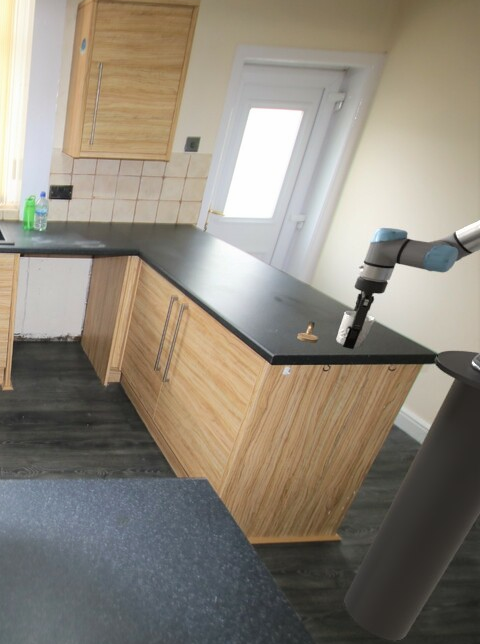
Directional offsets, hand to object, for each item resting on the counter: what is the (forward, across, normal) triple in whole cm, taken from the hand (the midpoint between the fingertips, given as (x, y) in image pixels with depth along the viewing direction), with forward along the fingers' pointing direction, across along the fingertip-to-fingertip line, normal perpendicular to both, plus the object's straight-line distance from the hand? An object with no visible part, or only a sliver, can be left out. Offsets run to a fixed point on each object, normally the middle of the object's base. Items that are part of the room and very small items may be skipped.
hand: (348, 342), depth 156 cm
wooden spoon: (0, -1, -11) cm, 11 cm away
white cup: (0, 0, 0) cm, 0 cm away
